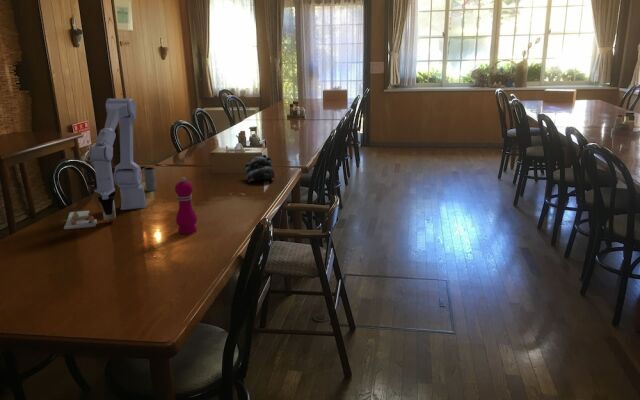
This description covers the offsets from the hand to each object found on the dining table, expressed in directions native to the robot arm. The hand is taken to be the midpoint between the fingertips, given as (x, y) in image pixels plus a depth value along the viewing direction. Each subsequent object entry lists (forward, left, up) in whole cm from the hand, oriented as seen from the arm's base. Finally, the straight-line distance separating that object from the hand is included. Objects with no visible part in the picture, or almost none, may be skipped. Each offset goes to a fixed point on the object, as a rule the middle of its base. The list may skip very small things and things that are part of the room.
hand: (109, 212), depth 191 cm
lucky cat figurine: (-65, -42, -4) cm, 78 cm away
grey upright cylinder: (-15, -42, -4) cm, 45 cm away
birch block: (0, 0, -2) cm, 2 cm away
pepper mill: (-27, +20, -4) cm, 34 cm away
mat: (+13, -13, -4) cm, 19 cm away
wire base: (+10, -2, -4) cm, 11 cm away
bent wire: (+10, -3, -3) cm, 10 cm away
